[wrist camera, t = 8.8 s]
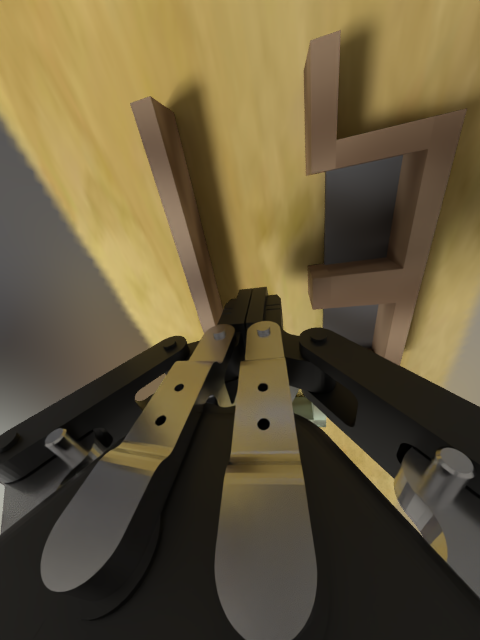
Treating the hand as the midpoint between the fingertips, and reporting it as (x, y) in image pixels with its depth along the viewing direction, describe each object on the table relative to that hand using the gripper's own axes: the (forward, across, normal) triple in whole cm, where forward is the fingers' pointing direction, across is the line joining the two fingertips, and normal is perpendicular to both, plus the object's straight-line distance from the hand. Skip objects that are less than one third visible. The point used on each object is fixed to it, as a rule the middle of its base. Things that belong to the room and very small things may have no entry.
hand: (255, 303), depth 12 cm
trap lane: (+4, -2, +2) cm, 5 cm away
